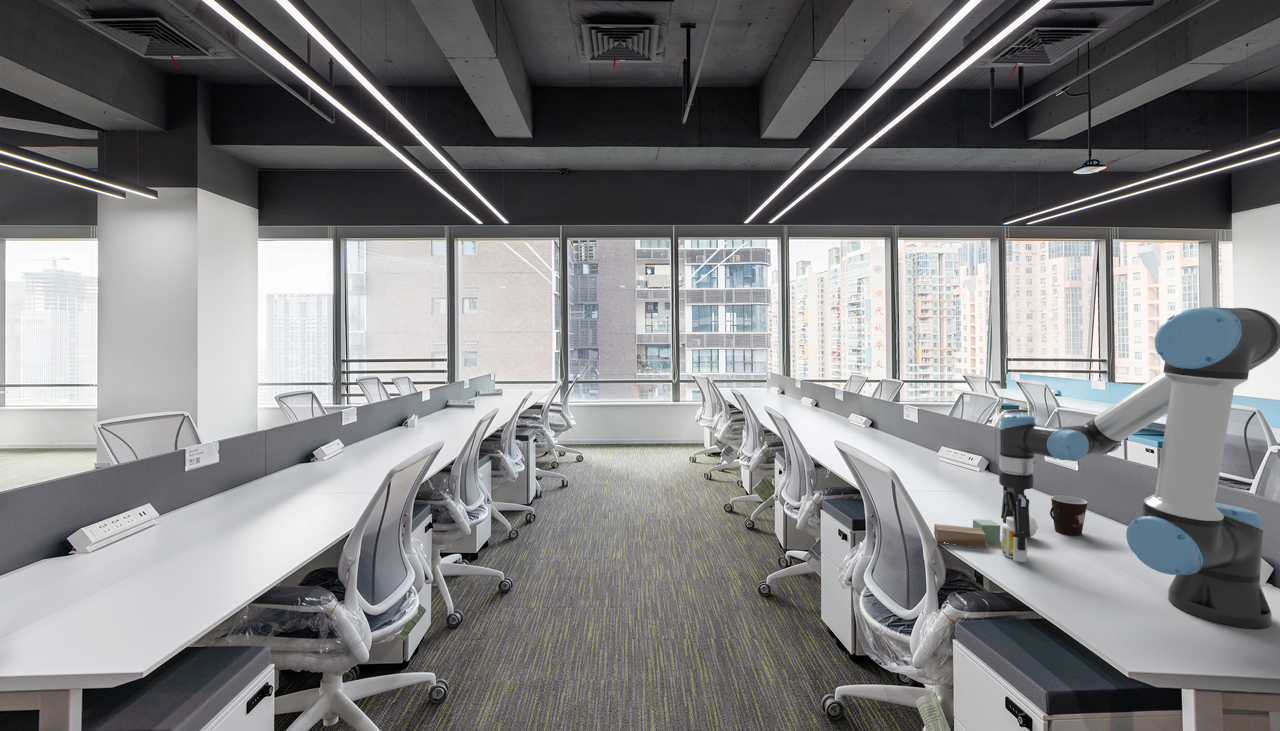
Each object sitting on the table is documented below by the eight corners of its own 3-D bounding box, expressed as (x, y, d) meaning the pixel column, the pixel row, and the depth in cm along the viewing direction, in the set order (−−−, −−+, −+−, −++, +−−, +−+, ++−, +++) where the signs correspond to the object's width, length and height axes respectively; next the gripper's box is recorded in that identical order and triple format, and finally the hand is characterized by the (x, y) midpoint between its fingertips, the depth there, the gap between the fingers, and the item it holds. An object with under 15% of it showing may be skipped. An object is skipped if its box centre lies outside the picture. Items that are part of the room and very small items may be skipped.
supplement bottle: (1032, 558, 144) (1033, 521, 144) (1015, 561, 143) (1016, 523, 142) (1012, 551, 149) (1013, 514, 149) (996, 553, 148) (997, 516, 148)
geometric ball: (1025, 545, 161) (1043, 524, 160) (1025, 543, 155) (1044, 522, 154) (1000, 527, 166) (1017, 507, 165) (998, 524, 159) (1016, 504, 159)
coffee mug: (1073, 527, 167) (1074, 495, 167) (1093, 537, 159) (1094, 504, 158) (1033, 526, 169) (1034, 495, 168) (1051, 536, 160) (1052, 503, 160)
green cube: (999, 542, 156) (1000, 525, 156) (981, 542, 156) (982, 525, 156) (990, 536, 161) (990, 519, 161) (972, 535, 161) (973, 519, 161)
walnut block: (985, 548, 151) (985, 534, 151) (937, 543, 156) (937, 529, 155) (981, 542, 156) (981, 528, 156) (934, 537, 160) (934, 523, 160)
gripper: (1047, 483, 134) (1044, 572, 135) (1020, 464, 154) (1018, 541, 155) (1011, 480, 136) (1009, 568, 137) (989, 462, 157) (988, 538, 158)
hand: (1014, 554), depth 146 cm, fingers open, 9 cm apart
